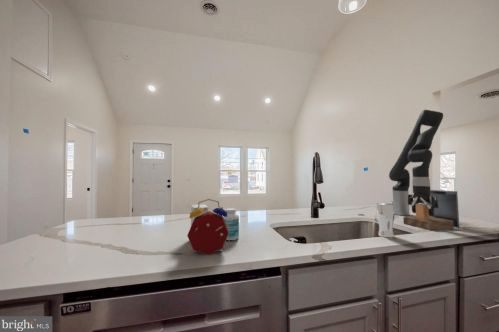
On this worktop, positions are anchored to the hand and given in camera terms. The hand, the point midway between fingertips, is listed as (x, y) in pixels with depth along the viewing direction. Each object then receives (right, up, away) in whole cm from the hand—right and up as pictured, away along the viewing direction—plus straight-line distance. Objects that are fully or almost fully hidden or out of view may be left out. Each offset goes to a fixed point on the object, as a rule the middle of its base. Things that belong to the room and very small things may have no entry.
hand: (422, 214), depth 110 cm
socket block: (+3, -7, 0) cm, 7 cm away
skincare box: (-119, -7, -23) cm, 121 cm away
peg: (0, -7, 0) cm, 7 cm away
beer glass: (-32, -6, -17) cm, 37 cm away
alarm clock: (-112, -6, -37) cm, 118 cm away
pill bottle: (-105, -7, -20) cm, 107 cm away
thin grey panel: (+11, -7, +2) cm, 13 cm away
